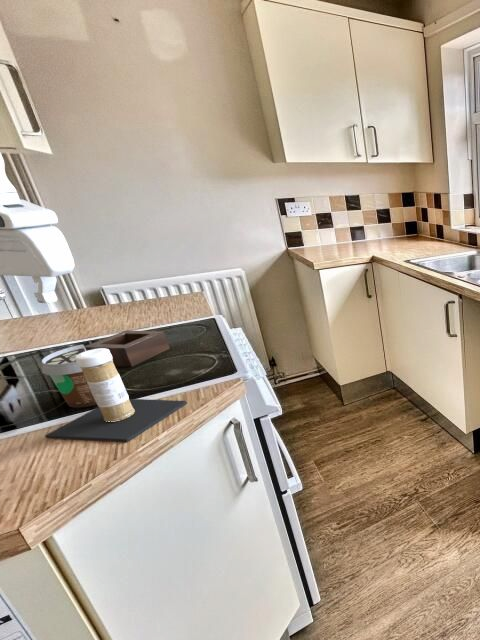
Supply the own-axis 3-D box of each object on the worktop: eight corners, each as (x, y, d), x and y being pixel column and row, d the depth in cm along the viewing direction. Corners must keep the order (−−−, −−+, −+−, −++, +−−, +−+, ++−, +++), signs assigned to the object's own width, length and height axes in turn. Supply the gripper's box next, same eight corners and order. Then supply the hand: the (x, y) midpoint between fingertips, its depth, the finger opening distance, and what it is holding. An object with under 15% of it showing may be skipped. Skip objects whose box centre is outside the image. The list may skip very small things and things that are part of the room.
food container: (63, 394, 90) (42, 351, 86) (102, 384, 93) (83, 343, 90) (56, 418, 81) (32, 371, 77) (98, 406, 85) (78, 362, 81)
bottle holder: (91, 365, 103) (82, 347, 101) (132, 347, 113) (125, 330, 111) (132, 367, 102) (124, 348, 100) (170, 348, 112) (163, 331, 110)
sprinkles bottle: (120, 409, 82) (92, 347, 77) (141, 410, 82) (115, 347, 77) (97, 423, 78) (66, 357, 73) (120, 423, 78) (90, 358, 73)
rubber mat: (46, 438, 75) (44, 435, 75) (115, 400, 87) (114, 398, 87) (127, 442, 74) (126, 439, 73) (187, 403, 85) (186, 400, 85)
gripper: (-108, 214, 61) (-60, 304, 67) (17, 216, 60) (57, 309, 65) (-51, 210, 67) (-11, 294, 73) (65, 212, 66) (97, 297, 71)
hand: (22, 301), depth 69 cm, fingers open, 8 cm apart
